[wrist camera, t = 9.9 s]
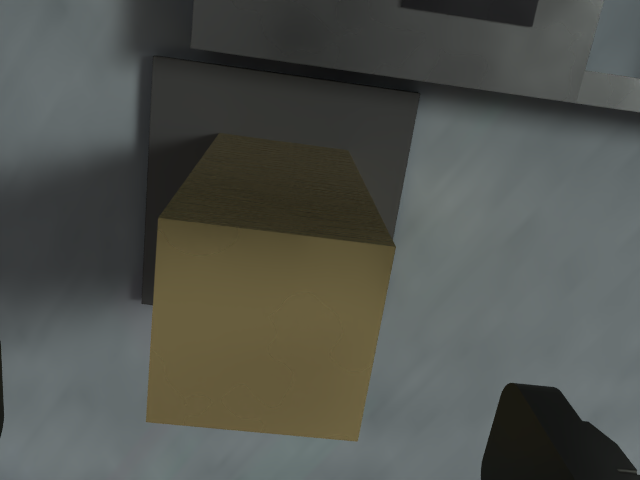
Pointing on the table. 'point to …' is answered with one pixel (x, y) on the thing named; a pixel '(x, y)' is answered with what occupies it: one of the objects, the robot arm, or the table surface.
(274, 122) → the rubber mat
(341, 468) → the table surface
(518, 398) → the robot arm
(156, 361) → the brass block
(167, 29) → the table surface
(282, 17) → the rail
